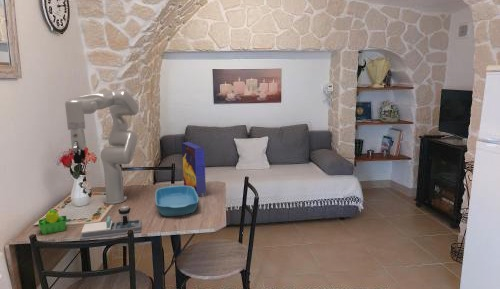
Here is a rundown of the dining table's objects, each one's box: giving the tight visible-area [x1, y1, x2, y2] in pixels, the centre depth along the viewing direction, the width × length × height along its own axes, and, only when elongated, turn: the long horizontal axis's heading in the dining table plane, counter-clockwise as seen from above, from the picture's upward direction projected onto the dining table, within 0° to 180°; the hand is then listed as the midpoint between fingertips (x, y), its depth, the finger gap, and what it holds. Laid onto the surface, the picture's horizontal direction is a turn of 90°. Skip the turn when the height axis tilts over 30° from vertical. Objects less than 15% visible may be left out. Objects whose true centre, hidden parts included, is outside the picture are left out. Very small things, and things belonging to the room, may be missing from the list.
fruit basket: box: [38, 208, 68, 235], centre depth 162 cm, size 11×9×11 cm
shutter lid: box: [80, 215, 113, 235], centre depth 160 cm, size 9×12×4 cm
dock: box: [79, 218, 142, 241], centre depth 162 cm, size 13×26×2 cm, turn 106°
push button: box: [118, 205, 135, 229], centre depth 163 cm, size 7×5×10 cm
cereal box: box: [181, 141, 207, 198], centre depth 214 cm, size 22×6×30 cm, turn 30°
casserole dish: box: [154, 184, 200, 217], centre depth 192 cm, size 37×22×7 cm, turn 16°
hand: (80, 160), depth 170 cm, fingers open, 9 cm apart
